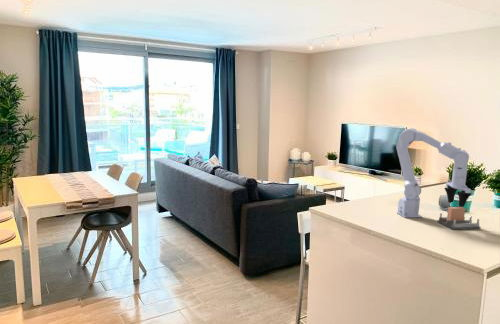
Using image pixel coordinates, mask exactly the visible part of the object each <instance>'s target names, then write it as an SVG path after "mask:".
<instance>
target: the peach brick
mask: <svg viewBox="0 0 500 324" xmlns="http://www.w3.org/2000/svg"><path fill="white" fill-rule="evenodd" d="M465 212H466V207H459V206H457V207H448V211H447V216H448V217H449V219H448V220H454V219H455V220H464V217H465ZM447 216H446V217H447Z"/></svg>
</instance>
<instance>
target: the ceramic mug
mask: <svg viewBox="0 0 500 324" xmlns="http://www.w3.org/2000/svg"><path fill="white" fill-rule="evenodd" d="M438 207H439V210H441V211H445V212H448V207H451V206H450V203H449V202H448V197H447V194H440V195H439V198H438Z"/></svg>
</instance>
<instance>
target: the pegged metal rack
mask: <svg viewBox="0 0 500 324" xmlns="http://www.w3.org/2000/svg"><path fill="white" fill-rule="evenodd" d="M472 217H473V216H472V215H469V219H465V218H466V217H465V216H464V220H455V219H454V220H448V219H449V217H448V216H443V213H440V214H439V217H438V219H437V220H436V223H438V224H440V225H442V226H444V227H446V228H448V229H450V230H452V231H456V230H457V231H458V230H459V231H460V230H462V231H463V230H481V226H480V218H477V220H476V222H473V220H472Z"/></svg>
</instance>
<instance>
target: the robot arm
mask: <svg viewBox="0 0 500 324" xmlns="http://www.w3.org/2000/svg"><path fill="white" fill-rule="evenodd" d="M413 142H423V143H425V144H427V145H429V146H431V147H433V148H435V149H437V151H438V153H439V154H441V155H443V156H444V157H447V158H449V159H451V160H453V161H454V163H453V169H452V176H451V182H447V181H446V182H445V187H444V191H445V193H446V195H447V197H448V202H449V203H451V202H453V201H454V196H456V194H457V195H458V196H457V197H458V207H463V208H465V205H466V203H467V201H468V199H469V198H470V197H471V196H472V192H471V191H472V189H471V188H469V187H468V185H466V182H467V173H468V161H469V160H470V155H469V153H468V151H466V150H462V148H460V147H456V146H454V145H452V142H446V141H444V142H441V141H439V140H437V139H435V138H433V137H431V135H429V134H426V133H425V132H423V131H421V130H417V129H415V128H412V127H411V128H408V129H406V128H405V129H404V130H403V131H401V133H400V134H399V135H398V140H397V142H396V147H395V148H396V152H397V156H398V159H399V164H400V168H401V172H402V175H403V176H402V177H403V179H404V184H403V185H404V192H403V195H404V197H403V198H399V200H398V204H397V212H396V214H398V215H399V216H401V217H403V218H408V219H409V218H423V216H422V215H420V213H419V212H420V203H421V201H420V200H421V198H420V196H421V193H422V187H421V186H420V185H419V183H418V180H417V178H416V176H415V172H414V168H413V165H412V160H411V158H410V154H409V147H410V146H411V144H412V143H413ZM457 190H458V191H457Z"/></svg>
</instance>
